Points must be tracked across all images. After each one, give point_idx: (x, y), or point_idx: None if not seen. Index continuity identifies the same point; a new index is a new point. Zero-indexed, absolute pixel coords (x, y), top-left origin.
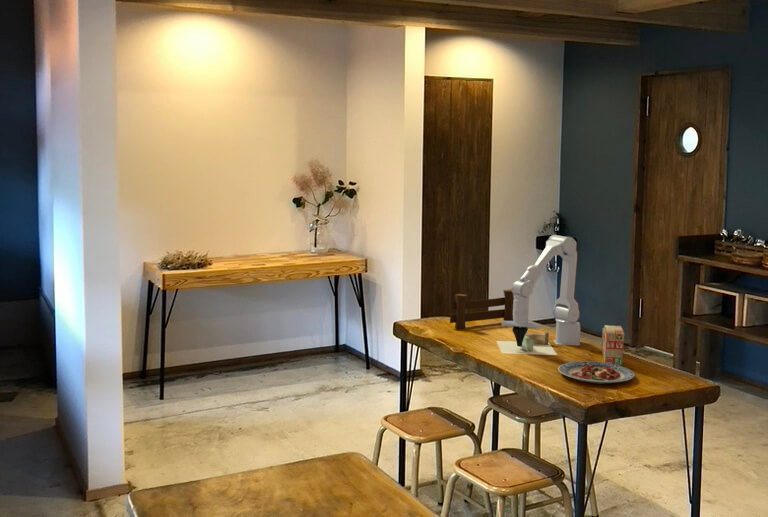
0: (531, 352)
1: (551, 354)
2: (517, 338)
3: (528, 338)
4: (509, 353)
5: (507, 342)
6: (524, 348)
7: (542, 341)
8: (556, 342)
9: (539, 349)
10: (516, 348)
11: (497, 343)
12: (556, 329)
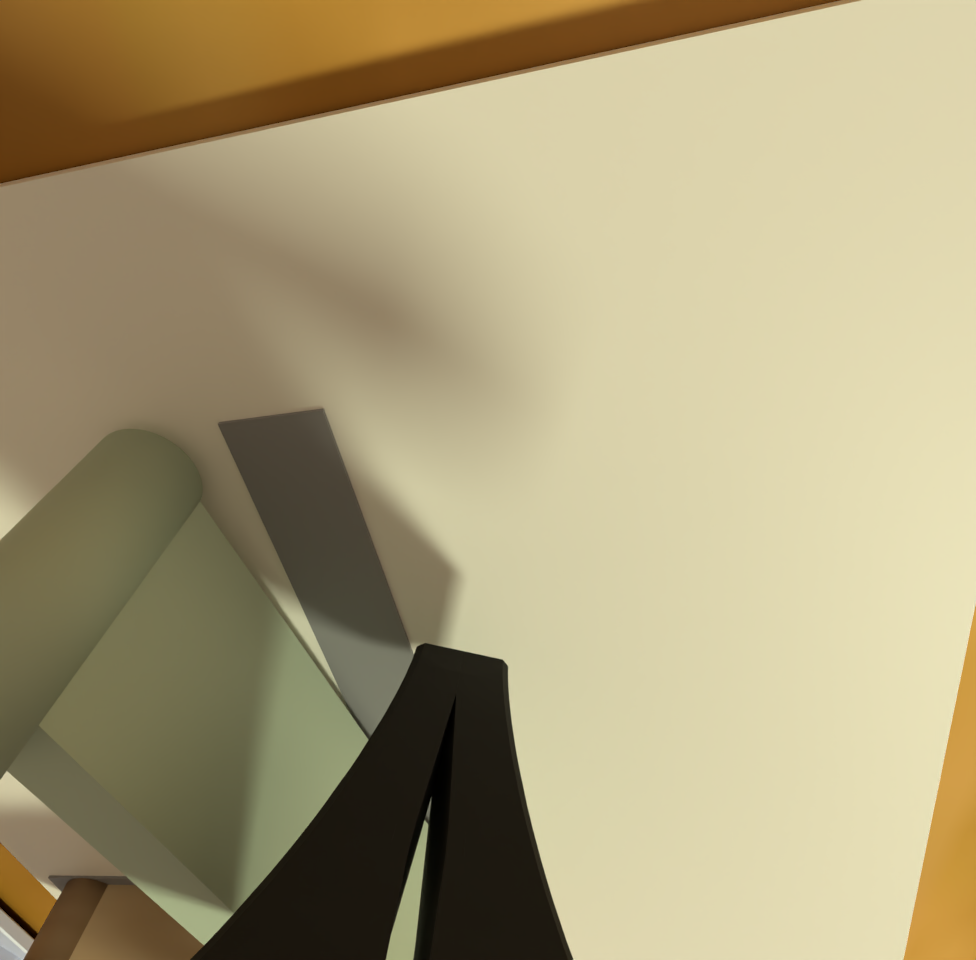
0: (107, 377)
1: None
2: (478, 847)
3: (157, 873)
4: (760, 44)
5: (704, 934)
6: (356, 661)
7: (119, 934)
8: (4, 946)
9: None
10: (530, 646)
11: (914, 887)
12: None
